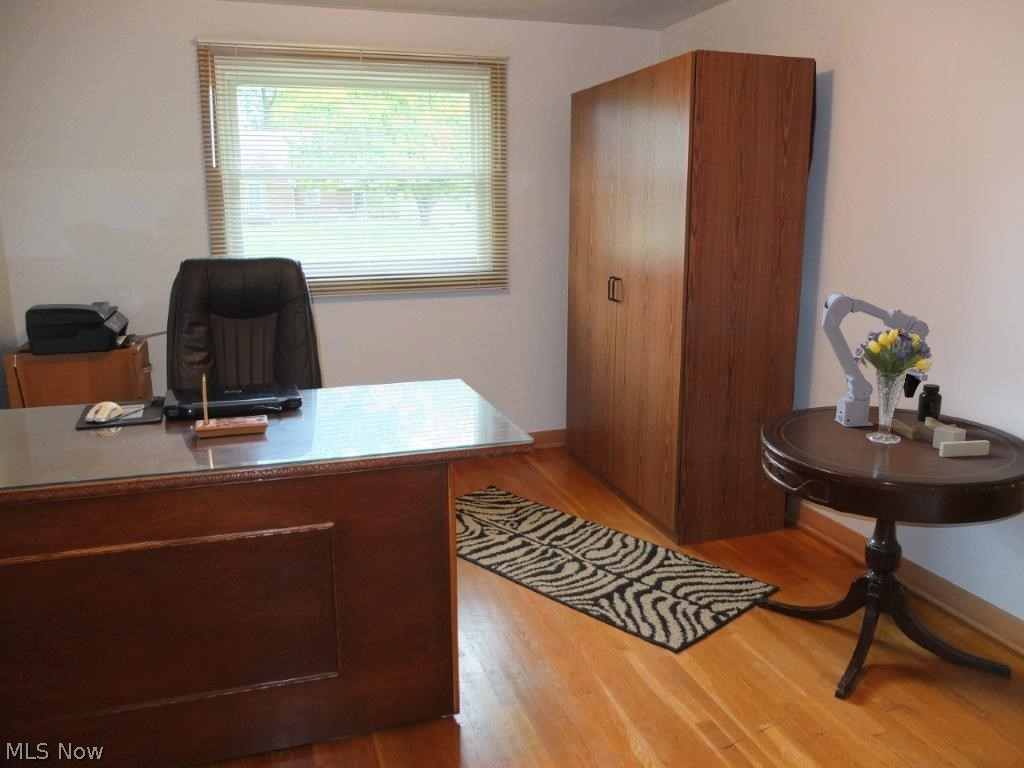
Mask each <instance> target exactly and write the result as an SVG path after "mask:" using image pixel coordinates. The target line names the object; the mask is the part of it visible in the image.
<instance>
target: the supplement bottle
mask: <svg viewBox="0 0 1024 768" xmlns="http://www.w3.org/2000/svg"><path fill="white" fill-rule="evenodd" d="M940 390H941V389H940V385H938V384H933V383H924V384H923V387H922V392H920V393H919V394H918V403H917V413H916V415H917V416H916V419H917V420H918V421H919V422H923V423H925V420H926V417H931V418H933V419H935V420H937V421H939V422H940V420H941V419H940V418H941V410H942V404H943V403H942V400H943V396H942V394H940V393H939V392H940Z"/></svg>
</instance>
